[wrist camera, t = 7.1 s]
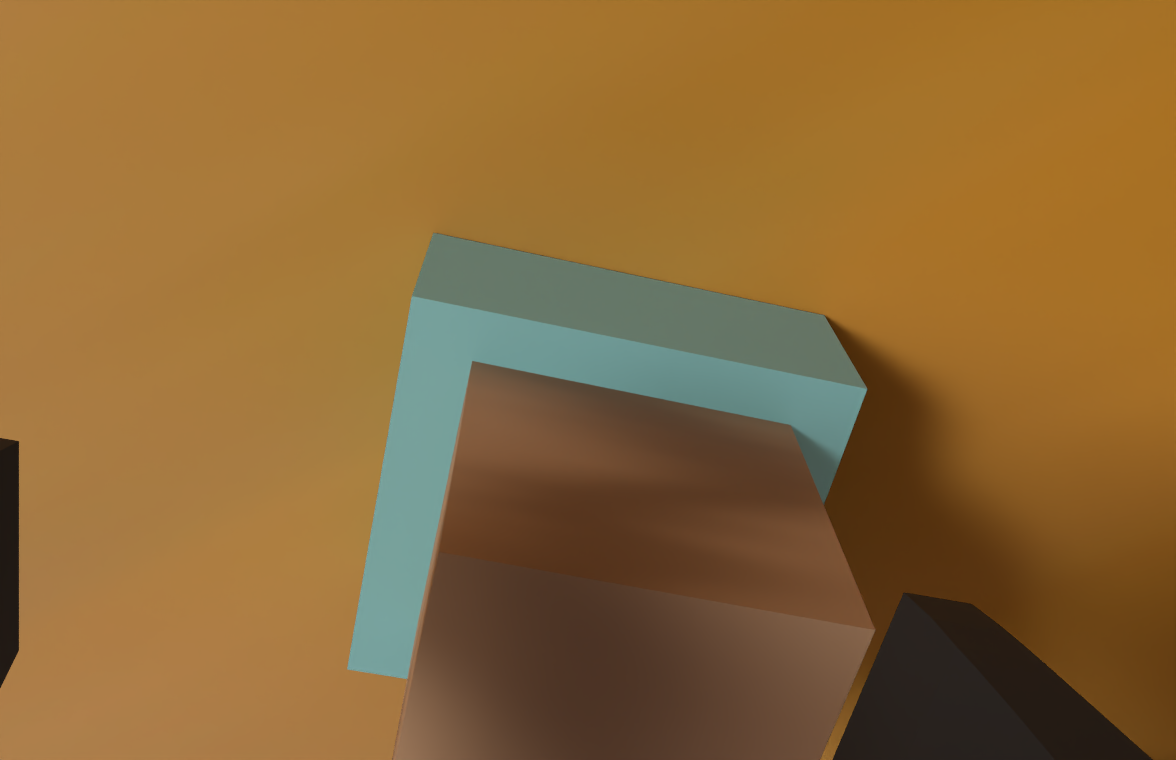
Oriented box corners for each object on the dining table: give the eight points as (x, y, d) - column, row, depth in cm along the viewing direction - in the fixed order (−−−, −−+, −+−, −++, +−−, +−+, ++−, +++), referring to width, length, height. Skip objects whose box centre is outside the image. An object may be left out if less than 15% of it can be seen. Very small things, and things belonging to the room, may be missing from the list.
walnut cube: (790, 424, 17) (875, 630, 12) (702, 674, 19) (747, 928, 14) (472, 361, 16) (438, 551, 12) (417, 624, 18) (371, 873, 14)
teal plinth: (823, 315, 19) (867, 388, 17) (715, 626, 22) (738, 732, 20) (433, 232, 19) (412, 295, 16) (373, 567, 21) (347, 669, 19)
